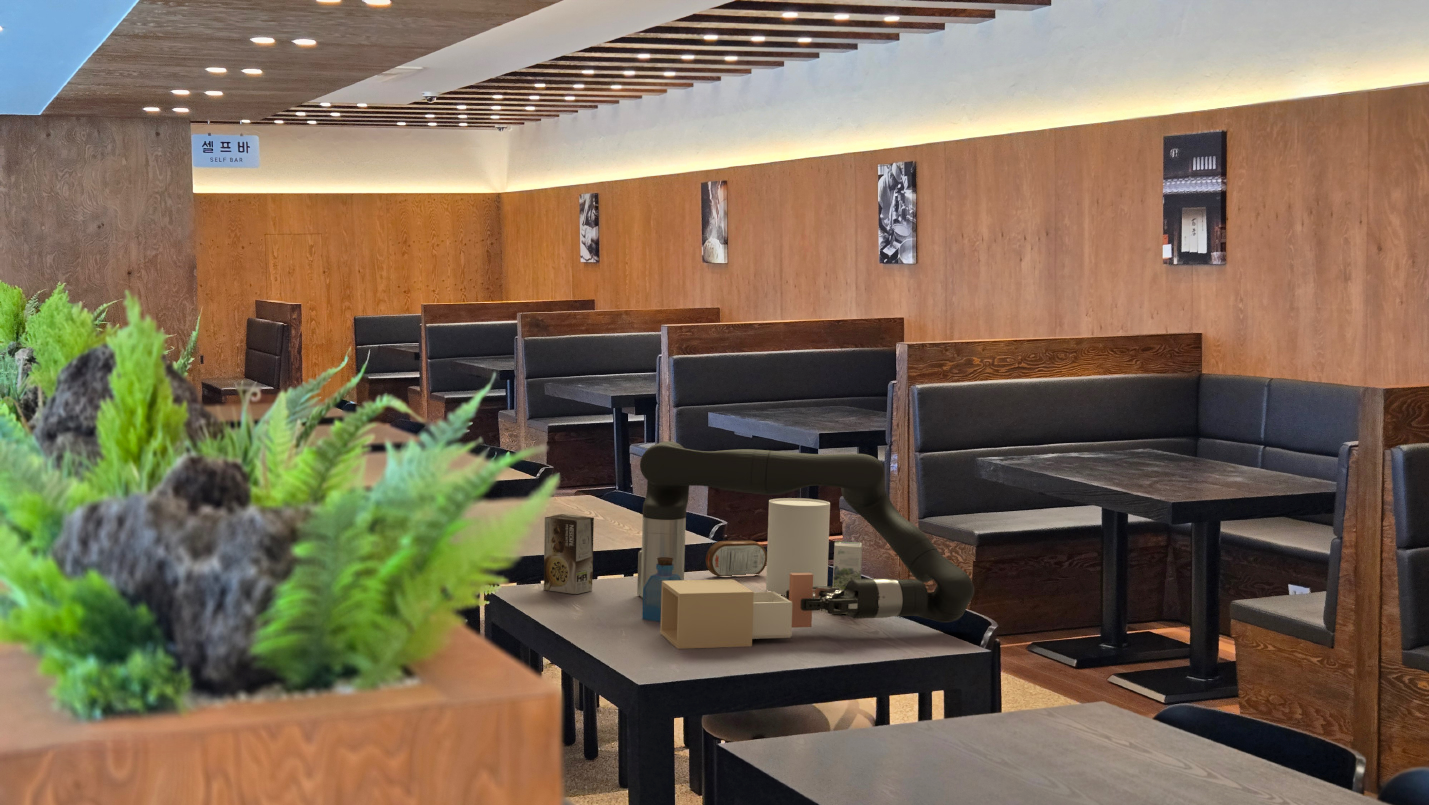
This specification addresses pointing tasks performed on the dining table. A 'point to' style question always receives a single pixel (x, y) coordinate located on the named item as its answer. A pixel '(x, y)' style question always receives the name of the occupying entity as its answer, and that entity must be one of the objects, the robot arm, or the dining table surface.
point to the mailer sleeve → (706, 613)
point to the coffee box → (568, 553)
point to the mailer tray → (782, 609)
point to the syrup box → (846, 564)
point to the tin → (736, 558)
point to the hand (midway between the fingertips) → (793, 600)
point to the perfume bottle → (657, 589)
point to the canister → (797, 541)
